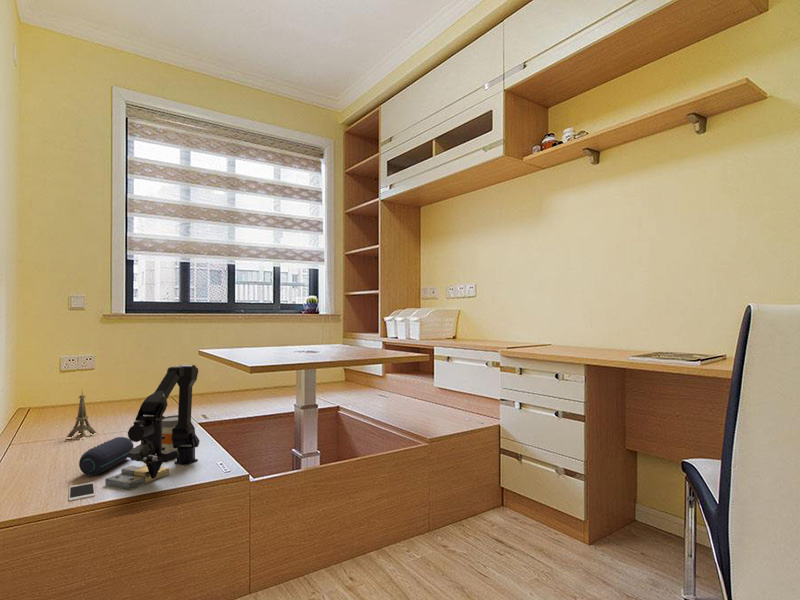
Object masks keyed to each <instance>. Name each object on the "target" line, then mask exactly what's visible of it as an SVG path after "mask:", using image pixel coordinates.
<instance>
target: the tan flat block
mask: <svg viewBox="0 0 800 600" xmlns="http://www.w3.org/2000/svg"><path fill="white" fill-rule="evenodd" d="M140 467H143V468H140V469H138V470H135V471H134V476H139V477H144V484H147V483H149V482H152V481H155V480H157V479H160V478H162V477H165V476H167V475H170V467H165V466H161V467H160V469H159V471H158V473H157V475H156V477H155V478H151V476H150V473H149V470H148V468H147V466H146V464H145V465H141V466H140Z"/></svg>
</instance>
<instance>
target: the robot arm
mask: <svg viewBox="0 0 800 600" xmlns="http://www.w3.org/2000/svg"><path fill="white" fill-rule="evenodd" d="M198 374H199V369H198V367H197V366H196V365H195V364H179V365H177V366H169V367H168V368H167V370H166V374H165V375H164V377H163V378H162V380H161V381H160V383H159V384H158V386H157V388H156V389H155V391H154V392H153V393H151V394H150V395H148V396H147V397H146V398H145V399H144V400H143V401H142V403H141V405H140V407H139V409H138V412H137V414H136V417H135V419H134V421H133V425H132V426H130V427H129V428H128V431H127V436H128V437H127V438H128V439H130V440H131V441H132V443H133V442H134V443H138V442H140V444H138V445H136V446H134V448H133V449H131V450H130V451H129V452H128V458H127V459H130V460H131V462H133V461H135V462H142V463H143V464H145V465H146V466H147V468H148V470H149V473H150V476H151V478H155V477H156V475H157V473H158V471H159V469H160V467H162V465H163V463H168V462H171V461H174V460H175V461H174V464H176V465H183V466H186V465H190V464H192V463H195V462H198V461H199V458H198V459H197V458H196V448H198V447H199V445H200V441H201V440H200V439H199V437H198V436H197V434H196V428H195V426H194V424H193V423H192V406H193V405H192V403H193V386H194V384H195V383H196V381H197V380H198ZM176 384H177V385H178V388H179V389H178V411H177V415H178V423H177V425H176V426H175V428H173V429H172V444H173V448H177V451H176V450H167V451H164V452H162V451H163V450H165V447H162V439H165V436H162V420H163V419H165V417H166V416H164V413H165V412H166V410H167V407H168V398H169V396H170V394H171V393H172V391H173V389H174V388H175V386H176Z"/></svg>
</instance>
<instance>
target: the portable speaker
mask: <svg viewBox="0 0 800 600" xmlns="http://www.w3.org/2000/svg"><path fill="white" fill-rule="evenodd" d="M133 448H135V446H134V443H133V441H131V440H130V439H129V437H126V436H117V437H114V438H112V439H110V440H107V441H104V442H103V443H100V444H98V445H96V446H93V447H92V448H90V449H88V450H87V451H84V453H82V455H81V456H80V459H79V462H78V463H79V464H78V467H79V469H80V471H81V472H82V474H84V475H86V476H90V477H93V476H97V475H98V476H99V475H100V474H102V473H104V472H106V471H107V470H109V469H111V468H113V467H115V466H116V465H118V464H120V463H122V462H124V461H125V460H127V459H129V458H128V452H129V451H130V450H131V449H133Z"/></svg>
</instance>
